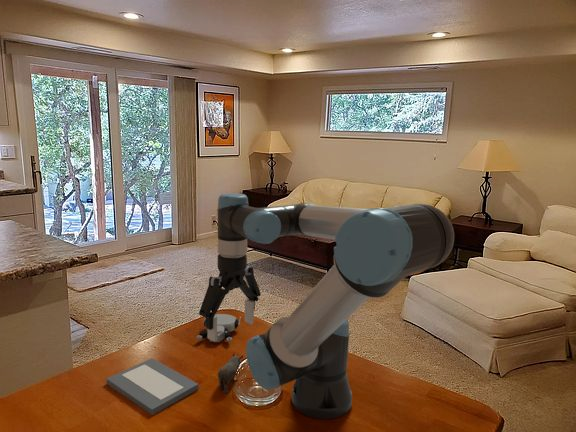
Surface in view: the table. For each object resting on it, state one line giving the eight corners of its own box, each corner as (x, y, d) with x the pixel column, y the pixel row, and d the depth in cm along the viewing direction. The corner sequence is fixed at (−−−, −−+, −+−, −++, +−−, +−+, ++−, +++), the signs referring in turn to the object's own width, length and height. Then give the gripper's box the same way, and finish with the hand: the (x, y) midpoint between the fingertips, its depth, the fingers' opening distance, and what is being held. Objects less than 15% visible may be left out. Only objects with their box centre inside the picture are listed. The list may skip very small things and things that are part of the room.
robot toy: (232, 349, 137) (241, 325, 151) (232, 336, 135) (241, 313, 150) (194, 346, 137) (206, 323, 152) (194, 333, 136) (206, 311, 151)
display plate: (198, 389, 113) (198, 383, 113) (152, 415, 102) (152, 409, 102) (152, 362, 125) (152, 357, 125) (106, 383, 114) (106, 378, 114)
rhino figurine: (247, 367, 125) (247, 348, 123) (229, 394, 111) (229, 373, 110) (234, 365, 126) (234, 346, 124) (214, 392, 112) (214, 370, 111)
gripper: (254, 242, 124) (252, 312, 128) (183, 261, 104) (184, 342, 108) (274, 247, 119) (272, 320, 123) (205, 267, 100) (205, 353, 104)
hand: (231, 330), depth 116 cm, fingers open, 13 cm apart
